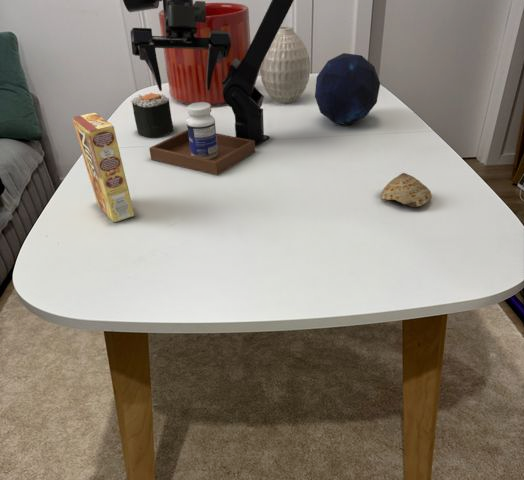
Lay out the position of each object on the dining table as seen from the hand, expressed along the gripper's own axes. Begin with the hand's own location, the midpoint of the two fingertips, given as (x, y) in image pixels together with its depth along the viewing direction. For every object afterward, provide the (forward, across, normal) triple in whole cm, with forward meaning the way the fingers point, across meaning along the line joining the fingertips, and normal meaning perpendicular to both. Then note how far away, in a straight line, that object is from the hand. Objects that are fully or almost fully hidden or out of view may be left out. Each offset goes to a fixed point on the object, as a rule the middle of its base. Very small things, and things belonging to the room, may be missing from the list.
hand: (184, 90), depth 99 cm
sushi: (+2, -6, +24) cm, 25 cm away
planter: (-14, +11, +44) cm, 48 cm away
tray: (+11, +4, +7) cm, 13 cm away
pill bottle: (+11, +4, +6) cm, 13 cm away
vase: (-9, +30, +34) cm, 46 cm away
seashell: (+25, +35, -22) cm, 48 cm away
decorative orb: (+2, +39, +15) cm, 42 cm away
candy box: (+24, -15, -10) cm, 30 cm away
